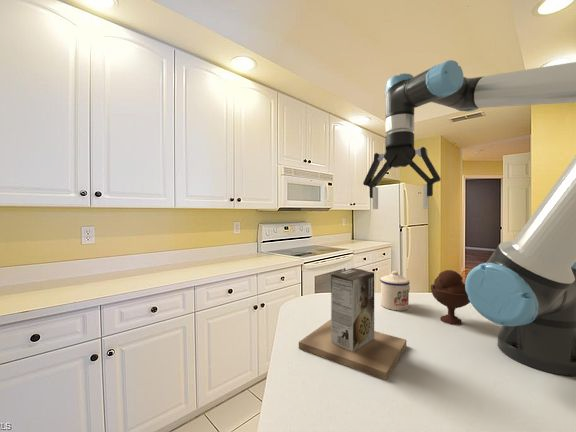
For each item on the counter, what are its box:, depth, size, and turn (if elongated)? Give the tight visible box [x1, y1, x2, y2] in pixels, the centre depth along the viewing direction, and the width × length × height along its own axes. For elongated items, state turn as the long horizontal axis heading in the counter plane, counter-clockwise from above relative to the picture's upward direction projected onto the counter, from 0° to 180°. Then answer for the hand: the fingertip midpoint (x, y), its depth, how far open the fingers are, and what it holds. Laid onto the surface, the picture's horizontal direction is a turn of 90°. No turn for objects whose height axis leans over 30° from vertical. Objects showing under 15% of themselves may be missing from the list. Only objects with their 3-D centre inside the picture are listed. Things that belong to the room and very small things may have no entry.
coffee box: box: [330, 267, 375, 352], centre depth 64 cm, size 9×6×16 cm
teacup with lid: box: [379, 270, 410, 312], centre depth 92 cm, size 12×9×12 cm
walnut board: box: [298, 319, 407, 381], centre depth 64 cm, size 20×16×2 cm
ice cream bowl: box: [430, 269, 471, 326], centre depth 79 cm, size 11×11×15 cm
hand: (399, 209), depth 77 cm, fingers open, 13 cm apart
